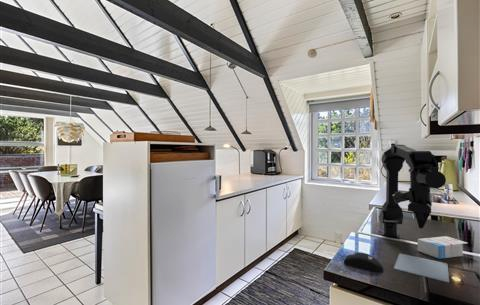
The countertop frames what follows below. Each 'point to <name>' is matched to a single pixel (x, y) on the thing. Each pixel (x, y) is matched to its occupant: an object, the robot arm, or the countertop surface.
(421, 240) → the ink box
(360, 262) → the computer mouse
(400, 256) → the mat
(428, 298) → the countertop surface
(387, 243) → the countertop surface
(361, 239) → the countertop surface
